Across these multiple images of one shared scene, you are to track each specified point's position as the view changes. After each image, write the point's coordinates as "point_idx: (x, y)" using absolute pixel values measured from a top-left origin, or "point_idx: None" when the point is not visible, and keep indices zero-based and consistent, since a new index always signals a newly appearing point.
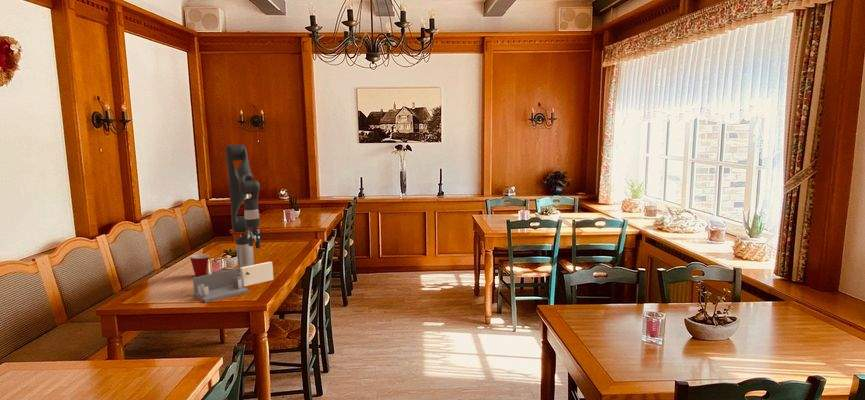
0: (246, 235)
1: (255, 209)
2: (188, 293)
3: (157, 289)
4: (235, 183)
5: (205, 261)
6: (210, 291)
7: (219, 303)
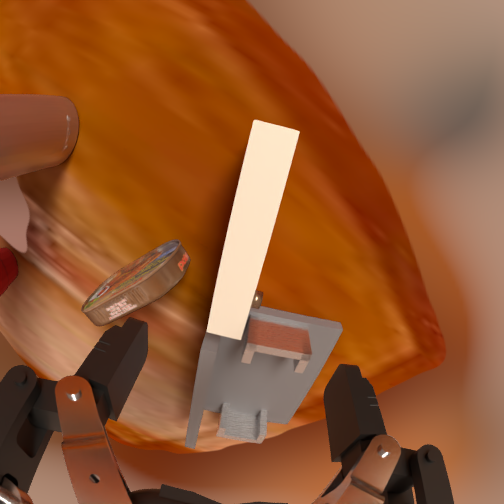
0: (41, 438)
1: None
2: (159, 392)
3: None
4: None
5: None
6: (225, 390)
7: None
